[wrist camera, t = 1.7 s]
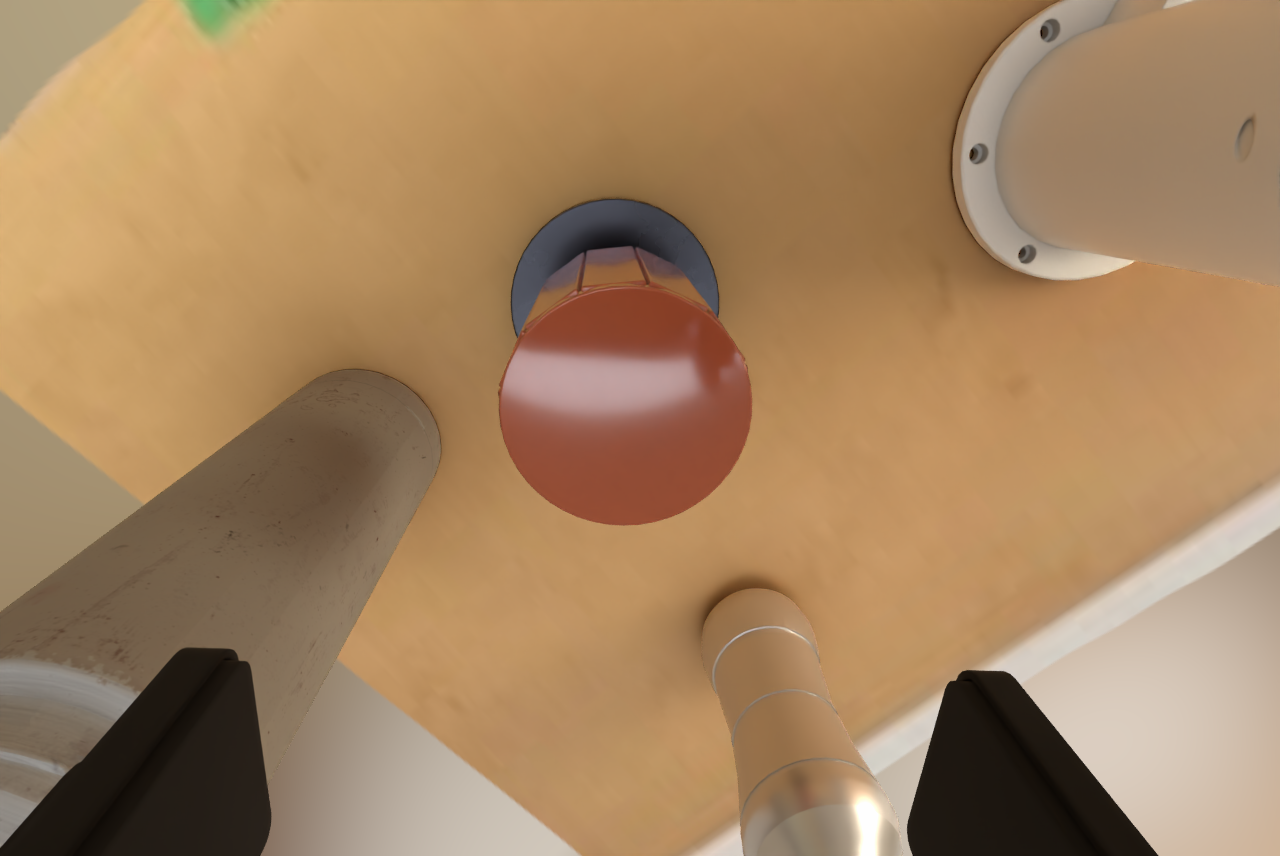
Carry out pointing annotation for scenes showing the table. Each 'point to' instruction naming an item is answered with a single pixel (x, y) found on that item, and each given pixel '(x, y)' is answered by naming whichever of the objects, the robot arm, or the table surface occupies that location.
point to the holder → (609, 229)
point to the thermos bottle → (219, 578)
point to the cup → (624, 391)
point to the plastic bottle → (790, 737)
